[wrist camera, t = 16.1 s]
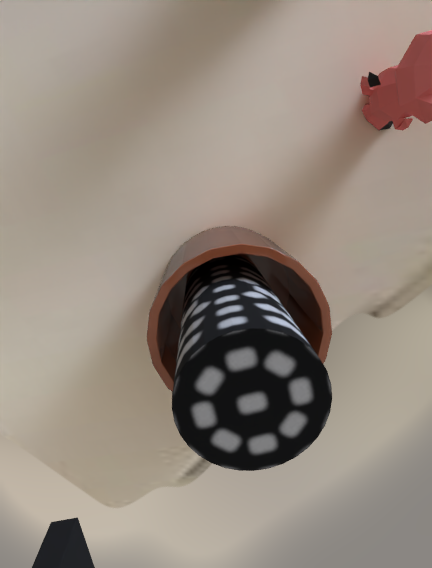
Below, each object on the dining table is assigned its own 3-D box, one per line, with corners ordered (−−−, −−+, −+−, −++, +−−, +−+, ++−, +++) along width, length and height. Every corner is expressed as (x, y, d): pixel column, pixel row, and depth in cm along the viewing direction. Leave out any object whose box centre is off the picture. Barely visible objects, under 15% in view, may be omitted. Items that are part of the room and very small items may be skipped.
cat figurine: (403, 144, 37) (498, 126, 25) (335, 135, 36) (400, 112, 25) (422, 64, 35) (533, 5, 23) (350, 53, 34) (428, -13, 23)
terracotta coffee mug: (149, 239, 38) (128, 263, 26) (284, 215, 38) (322, 229, 26) (184, 399, 43) (179, 479, 31) (304, 378, 43) (343, 450, 31)
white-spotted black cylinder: (196, 339, 40) (195, 485, 21) (175, 265, 38) (152, 351, 18) (272, 320, 40) (343, 450, 20) (256, 245, 38) (317, 310, 18)
